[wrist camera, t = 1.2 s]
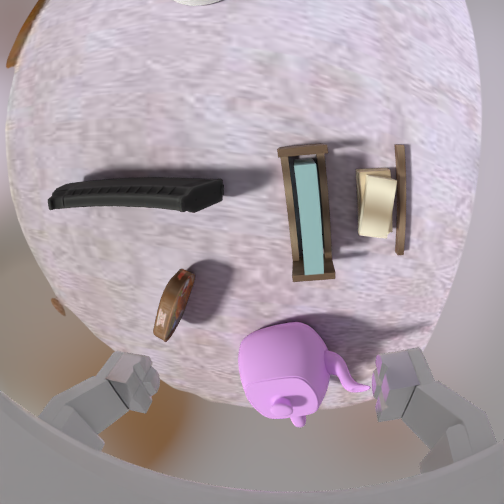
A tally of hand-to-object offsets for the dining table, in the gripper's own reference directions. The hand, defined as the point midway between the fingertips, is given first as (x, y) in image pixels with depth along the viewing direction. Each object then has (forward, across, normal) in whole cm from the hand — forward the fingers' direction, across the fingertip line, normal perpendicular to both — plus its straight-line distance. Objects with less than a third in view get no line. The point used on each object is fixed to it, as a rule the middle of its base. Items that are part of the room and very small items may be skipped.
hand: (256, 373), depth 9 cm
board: (+33, -3, +2) cm, 33 cm away
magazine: (+33, +24, -4) cm, 41 cm away
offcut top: (+31, -12, +3) cm, 33 cm away
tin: (+34, +21, +16) cm, 43 cm away
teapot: (+34, +2, +30) cm, 46 cm away
